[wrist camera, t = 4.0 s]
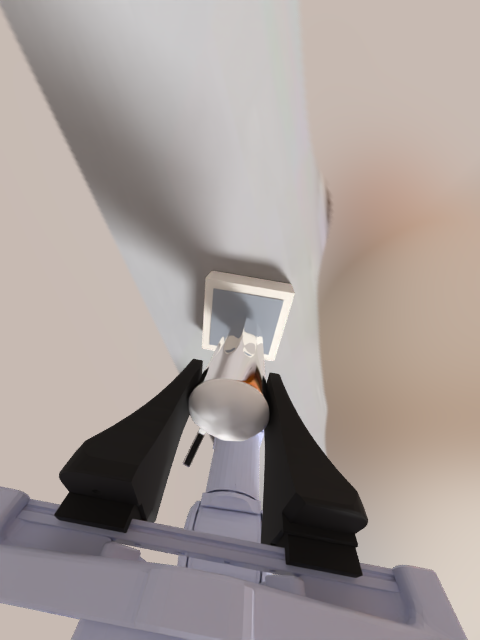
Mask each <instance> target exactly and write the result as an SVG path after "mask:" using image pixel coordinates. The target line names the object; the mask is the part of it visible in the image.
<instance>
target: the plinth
mask: <svg viewBox="0 0 480 640" xmlns="http://www.w3.org/2000/svg"><path fill="white" fill-rule="evenodd" d="M294 295H295V292H294V290H293V287H292V285H291V284H289V283H283V282H277V281H271V280H265V279H259V278H253V277H247V276H241V275H236V274H230V273H224V272H218V271H211V272H210V273H209V275H208V276H207V277H206V278H205V297H204V317H203V337H202V349H208V350H214V351H215V349H216V348H217V346H218V344H219V342H220V340H221V338H222V336H223V334H224V332H225V330H226V328H227V326H228V325H229V324H230V323H231V322H233V321H234V320H235V319H239V318H248V319H251V320H253V321H255V322H257V324H258V325H259V327H260V329H261V330H262V336H263V350H264V359H265V360H270V361H274V360H275V357H276V353H277V350H278V347H279V344H280V340H281V337H282V334H283V331H284V327H285V324H286V321H287V318H288V314H289V311H290V308H291V305H292V301H293V298H294Z"/></svg>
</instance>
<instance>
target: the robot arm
mask: <svg viewBox="0 0 480 640" xmlns="http://www.w3.org/2000/svg"><path fill="white" fill-rule="evenodd" d="M202 364H203V361H202V360H197V359H193V360H192V361H191V362H190V363H189V364H188V365H187V367H186V368H185V369H184V370H183V371H182V372H181V373H180V374H179V375H178V376H177V377H176V378H175V379H174V380H173V381H172V382H171V383H170V384H169V385H168V386H167V387H166V388H165V389H164V390H162V391H161V392H160V393H159V394H158V395H157V396H155V397H154V398H153V399H152V400H150V401H149V402H148V403H146V404H145V405H144V406H142V407H141V408H140V409H138V410H137V411H135V412H134V413H132V414H131V415H129V416H128V417H126V418H125V419H123V420H121V421H120V422H118V423H117V424H115V425H114V426H112V427H110V428H108V429H106V430H104V431H103V432H101V433H99V434H97V435H95V436H93V437H92V438H90V439H88V440H86V441H85V442H84V443H83V444H82V445H81V447H80V448H79V449H78V450H77V451H76V452H75V453H74V455H73V456H72V457H71V458H70V460H69V461H68V462H67V464H66V465H65V466H64V467H63V469H62V470H61V471H60V473H59V478H60V480H61V482H62V483H63V484H64V486H65V487H66V488H67V489H68V491H69V493H68V495H67V496H66V498H65V499H64V501H63V502H62V504H61V505H59V504H54V503H49V502H43V501H38V500H33V499H30V497H29V496H28V495H27V494H26V493H24V492H22V491H19V490H15V489H10V488H5V487H0V603H3V604H8V605H13V606H18V607H23V608H28V609H33V610H38V611H42V612H47V613H52V614H58V615H62V616H67V617H71V618H76V619H80V621H79V623H78V625H77V627H76V630H75V632H74V634H73V636H72V638H71V640H468V639H467V637H466V635H465V633H464V631H463V629H462V627H461V625H460V623H459V621H458V619H457V616H456V614H455V612H454V610H453V608H452V606H451V604H450V602H449V600H448V598H447V596H446V593H445V591H444V589H443V587H442V585H441V583H440V581H439V579H438V577H437V574H436V573H435V572H434V571H433V570H430V569H425V568H420V567H415V566H409V565H398V566H395V567H393V569H390V568H385V567H380V566H374V565H369V564H364V563H359V559H358V556H357V552H356V548H355V547H358V543H357V540H356V536H355V533H357V532H359V531H360V530H362V529H363V528H364V527H366V525H367V523H368V518H367V516H366V512H365V509H364V507H363V504H362V502H361V499H360V497H359V495H358V492H357V491H356V490H355V489H354V487H353V486H352V485H351V484H350V483H349V482H348V481H347V480H346V479H345V478H344V477H343V476H342V474H341V473H340V472H339V471H338V470H337V469H336V468H335V466H334V465H333V464H332V463H331V461H330V460H329V459H328V458H327V456H326V455H325V454H324V452H323V451H322V450H321V448H320V447H319V446H318V444H317V443H316V442H315V440H314V439H313V437H312V436H311V435H310V433H309V431H308V430H307V428H306V427H305V425H304V424H303V422H302V420H301V419H300V417H299V415H298V413H297V412H296V410H295V408H294V406H293V404H292V402H291V400H290V398H289V396H288V394H287V391H286V389H285V387H284V385H283V382H282V380H281V377H280V375H279V374H275V373H270V374H269V377H268V380H267V383H266V385H267V394H268V403H269V413H270V416H269V422H268V424H267V426H266V427H265V429H264V430H263V431H261V432H260V433H258V434H257V435H255V436H253V437H251V438H249V439H247V440H244V441H224V440H221V439H218V438H216V437H214V445H213V449H214V453H213V458H212V463H211V468H210V473H209V478H208V483H207V488H206V492H205V493H203V494H202V499H201V501H197V502H196V503H195V504H194V505H193V506H192V507H191V509H190V511H189V513H188V516H187V519H186V523H185V527H184V529H183V528H178V527H172V526H167V525H162V524H157V523H154V522H155V520H156V518H157V514H158V510H159V507H160V503H161V500H162V496H163V493H164V489H165V486H166V483H167V479H168V476H169V473H170V469H171V466H172V463H173V460H174V456H175V453H176V450H177V447H178V444H179V441H180V437H181V434H182V432H183V429H184V427H185V424H186V422H187V419H188V417H189V415H190V412H189V403H188V401H189V397H190V395H191V393H192V391H193V390H194V388H195V386H196V385H197V383H198V381H199V379H200V377H201V376H202ZM263 437H265V471H264V495H263V510H261V501H259V455H260V445H261V442H262V440H263ZM122 544H125V545H130V546H135V547H140V548H145V549H150V550H155V551H161V552H165V553H171V554H176V555H179V557H178V565H177V566H174V565H166V564H159V563H150V562H146V561H145V560H144V559H142V558H141V557H140V550H137V549H134V548H131V547H128V546H125V545H122ZM272 573H273V574H278V575H272Z"/></svg>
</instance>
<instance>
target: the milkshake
mask: <svg viewBox="0 0 480 640" xmlns="http://www.w3.org/2000/svg"><path fill="white" fill-rule="evenodd" d="M188 403H189V412H190V416H191V418H192V420H193V421H194V423H195V424H197V425H198V426H199V427H200V429H199V431H198V433H197V435H196V437H195V439H194V441H193V443H192V445H191V447H190V449H189V451H188V453H187V455H186V458H185V459H184V462H183V464H184V465H185V466H187V467H190V465H191V463H192V461H193V458H194V457H195V454H196V452H197V450H198V448H199V446H200V444H201V442H202V440H203V437H204V435H205V433H208V434H210V435H212V436H214V437H216V438H218V439H221V440H224V441H244V440H247V439H249V438H251V437H253V436H255V435H257V434H258V433H260V432H261V431H263V430H264V429H265V427H266V426H267V424H268V422H269V416H270V413H269V403H268V394H267V385H266V376H265V364H264V350H263V336H262V330H261V329H260V327H259V325H258V324H257V322H255V321H253V320H251V319H248V318H239V319H235V320H234V321H233V322H231V323H230V324H229V325H228V326H227V328H226V330H225V332H224V334H223V336H222V338H221V340H220V342H219V344H218V346H217V348H216V349H215V351H214V353H213V355H212V357H211V359H210V361H209V363H208V365H207V367H206V369H205V370H204V372H203V374H202V376H201V377H200V379H199V381H198V383H197V385H196V386H195V388H194V390H193V391H192V393H191V395H190V397H189V401H188Z"/></svg>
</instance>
